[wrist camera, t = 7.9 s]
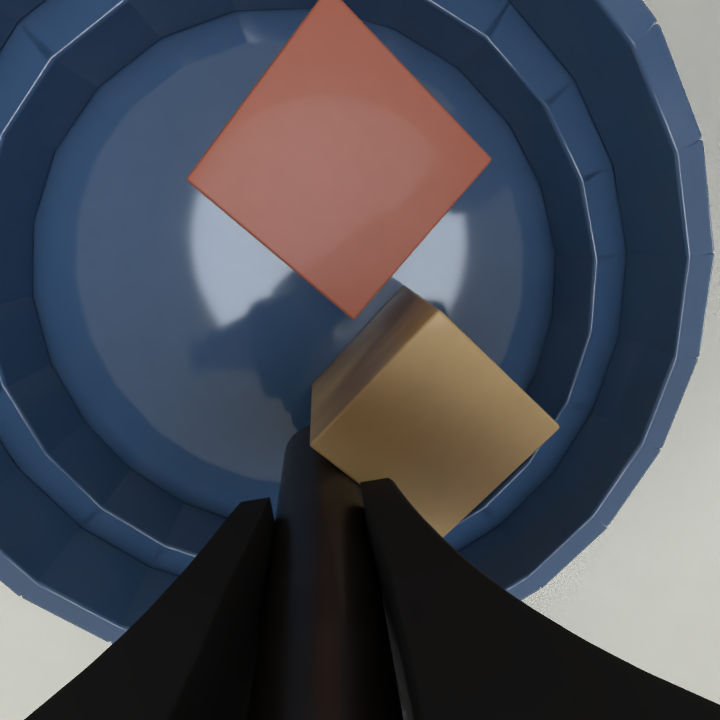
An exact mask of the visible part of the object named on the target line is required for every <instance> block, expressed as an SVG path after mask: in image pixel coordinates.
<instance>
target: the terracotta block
mask: <svg viewBox="0 0 720 720" xmlns="http://www.w3.org/2000/svg"><path fill="white" fill-rule="evenodd" d="M491 160H492V159H491V157H490V156H489V155H488V154H487V153H486V152H485V151H484V150H483V149H482V148H481V147H480V146H479V144H478V143H477V142H476V141H475V140H474V139H473V138H472V137H471V136H470V135H469V134H468V133H467V132H466V131H465V130H464V129H463V128H462V126H461V125H460V124H459V123H458V122H457V121H456V120H455V119H454V118H453V117H452V116H451V115H450V114H449V113H448V112H447V111H446V110H445V109H444V107H443V106H442V105H441V104H440V103H439V102H438V101H437V100H436V99H435V98H434V97H433V96H432V95H431V94H430V93H429V92H428V91H427V89H426V88H425V87H424V86H423V85H422V84H421V83H420V82H419V81H418V80H417V79H416V78H415V77H414V76H413V75H412V74H411V73H410V71H409V70H408V69H407V68H406V67H405V66H404V65H403V64H402V63H401V62H400V61H399V60H398V59H397V58H396V57H395V56H394V55H393V54H392V52H391V51H390V50H389V49H388V48H387V47H386V46H385V45H384V44H383V43H382V42H381V41H380V40H379V39H378V38H377V37H376V36H375V34H374V33H373V32H372V31H371V30H370V29H369V28H368V27H367V26H366V25H365V24H364V23H363V22H362V21H361V20H360V19H359V18H358V16H357V15H356V14H355V13H354V12H353V11H352V10H351V9H350V8H349V7H348V6H347V5H346V4H345V3H344V2H343V1H342V0H318V1H317V2H316V4H315V5H314V6H313V8H312V9H311V10H310V12H309V13H308V15H307V16H306V17H305V19H304V20H303V21H302V23H301V24H300V25H299V27H298V28H297V29H296V31H295V32H294V33H293V35H292V36H291V37H290V39H289V40H288V42H287V43H286V44H285V46H284V47H283V48H282V50H281V51H280V52H279V54H278V55H277V56H276V58H275V59H274V60H273V62H272V63H271V64H270V66H269V67H268V68H267V70H266V71H265V73H264V74H263V75H262V77H261V78H260V79H259V81H258V82H257V83H256V85H255V86H254V87H253V89H252V90H251V91H250V93H249V94H248V95H247V97H246V98H245V100H244V101H243V102H242V104H241V105H240V106H239V108H238V109H237V110H236V112H235V113H234V114H233V116H232V117H231V118H230V120H229V121H228V122H227V124H226V125H225V127H224V128H223V129H222V131H221V132H220V133H219V135H218V136H217V137H216V139H215V140H214V141H213V143H212V144H211V145H210V147H209V148H208V149H207V151H206V152H205V154H204V155H203V156H202V158H201V159H200V160H199V162H198V163H197V164H196V166H195V167H194V168H193V170H192V171H191V172H190V174H189V175H188V176H187V181H188V182H189V183H190V184H191V185H192V186H194V187H195V188H196V189H197V190H198V191H200V192H201V193H202V194H203V195H204V196H206V197H207V198H208V199H209V200H210V201H212V202H213V203H214V204H215V205H216V206H218V207H219V208H220V209H221V210H222V211H224V212H225V213H226V214H227V215H228V216H229V217H231V218H232V219H233V220H234V221H235V222H237V223H238V224H239V225H240V226H241V227H243V228H244V229H245V230H246V231H247V232H249V233H250V234H251V235H252V236H253V237H255V238H256V239H257V240H258V241H259V242H261V243H262V244H263V245H264V246H265V247H266V248H268V249H269V250H270V251H271V252H272V253H274V254H275V255H276V256H277V257H278V258H280V259H281V260H282V261H283V262H284V263H286V264H287V265H288V266H289V267H290V268H292V269H293V270H294V271H295V272H296V273H298V274H299V275H300V276H301V277H302V278H303V279H305V280H306V281H307V282H308V283H309V284H311V285H312V286H313V287H314V288H315V289H317V290H318V291H319V292H320V293H321V294H323V295H324V296H325V297H326V298H327V299H329V300H330V301H331V302H332V303H333V304H335V305H336V306H337V307H338V308H339V309H340V310H342V311H343V312H344V313H345V314H346V315H348V316H349V317H350V318H351V319H355V318H356V317H357V316H358V315H359V314H360V312H361V311H362V310H363V309H364V308H365V307H366V306H367V304H368V303H369V302H370V301H371V300H372V299H373V297H374V296H375V295H376V294H377V293H378V292H379V291H380V289H381V288H382V287H383V286H384V285H385V284H386V282H387V281H388V280H389V279H390V278H391V277H392V275H393V274H394V273H395V272H396V271H397V270H398V269H399V267H400V266H401V265H402V264H403V263H404V262H405V260H406V259H407V258H408V257H409V256H410V255H411V253H412V252H413V251H414V250H415V249H416V248H417V247H418V245H419V244H420V243H421V242H422V241H423V240H424V238H425V237H426V236H427V235H428V234H429V233H430V232H431V230H432V229H433V228H434V227H435V226H436V225H437V223H438V222H439V221H440V220H441V219H442V218H443V216H444V215H445V214H446V213H447V212H448V211H449V210H450V208H451V207H452V206H453V205H454V204H455V203H456V201H457V200H458V199H459V198H460V197H461V196H462V195H463V193H464V192H465V191H466V190H467V189H468V188H469V186H470V185H471V184H472V183H473V182H474V181H475V179H476V178H477V177H478V176H479V175H480V174H481V173H482V171H483V170H484V169H485V168H486V167H487V166H488V164H489V163H490V162H491Z"/></svg>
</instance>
